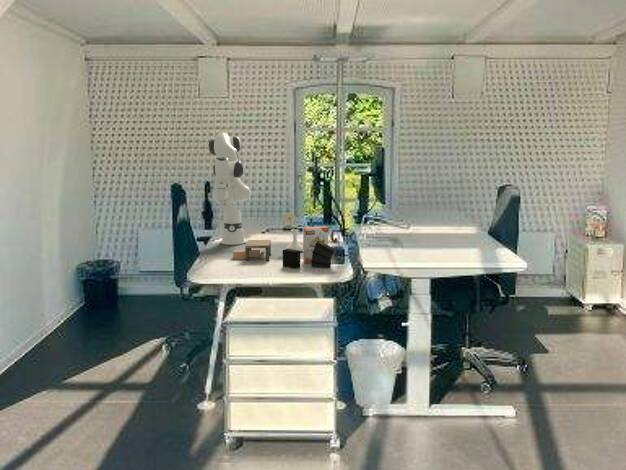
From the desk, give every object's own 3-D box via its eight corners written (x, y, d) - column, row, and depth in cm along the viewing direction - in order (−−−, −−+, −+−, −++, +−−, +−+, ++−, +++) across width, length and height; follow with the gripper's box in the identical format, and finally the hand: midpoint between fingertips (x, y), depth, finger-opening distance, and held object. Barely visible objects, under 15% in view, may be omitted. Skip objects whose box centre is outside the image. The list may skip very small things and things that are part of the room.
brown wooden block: (234, 257, 420) (234, 250, 419) (260, 257, 420) (260, 249, 419) (233, 259, 415) (232, 251, 414) (259, 258, 415) (259, 251, 414)
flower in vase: (305, 249, 441) (304, 211, 436) (303, 253, 430) (302, 214, 425) (284, 249, 442) (284, 211, 438) (282, 253, 431) (281, 213, 427)
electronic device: (295, 269, 387) (295, 251, 385) (282, 266, 393) (282, 249, 392) (300, 267, 390) (300, 250, 388) (287, 265, 396) (287, 248, 395)
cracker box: (305, 263, 400) (305, 228, 396) (303, 261, 405) (302, 227, 402) (328, 262, 403) (328, 227, 400) (325, 260, 409) (325, 225, 405)
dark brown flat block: (307, 262, 395) (318, 240, 391) (327, 273, 393) (338, 250, 389) (305, 264, 391) (316, 241, 387) (325, 275, 389) (336, 252, 385)
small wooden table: (248, 254, 427) (248, 239, 425) (270, 254, 427) (270, 239, 425) (245, 261, 408) (245, 245, 406) (269, 261, 408) (268, 245, 406)
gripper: (219, 182, 425) (220, 204, 427) (215, 185, 404) (216, 208, 407) (230, 182, 425) (230, 204, 427) (225, 185, 404) (226, 208, 407)
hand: (223, 206), depth 417 cm, fingers open, 8 cm apart
